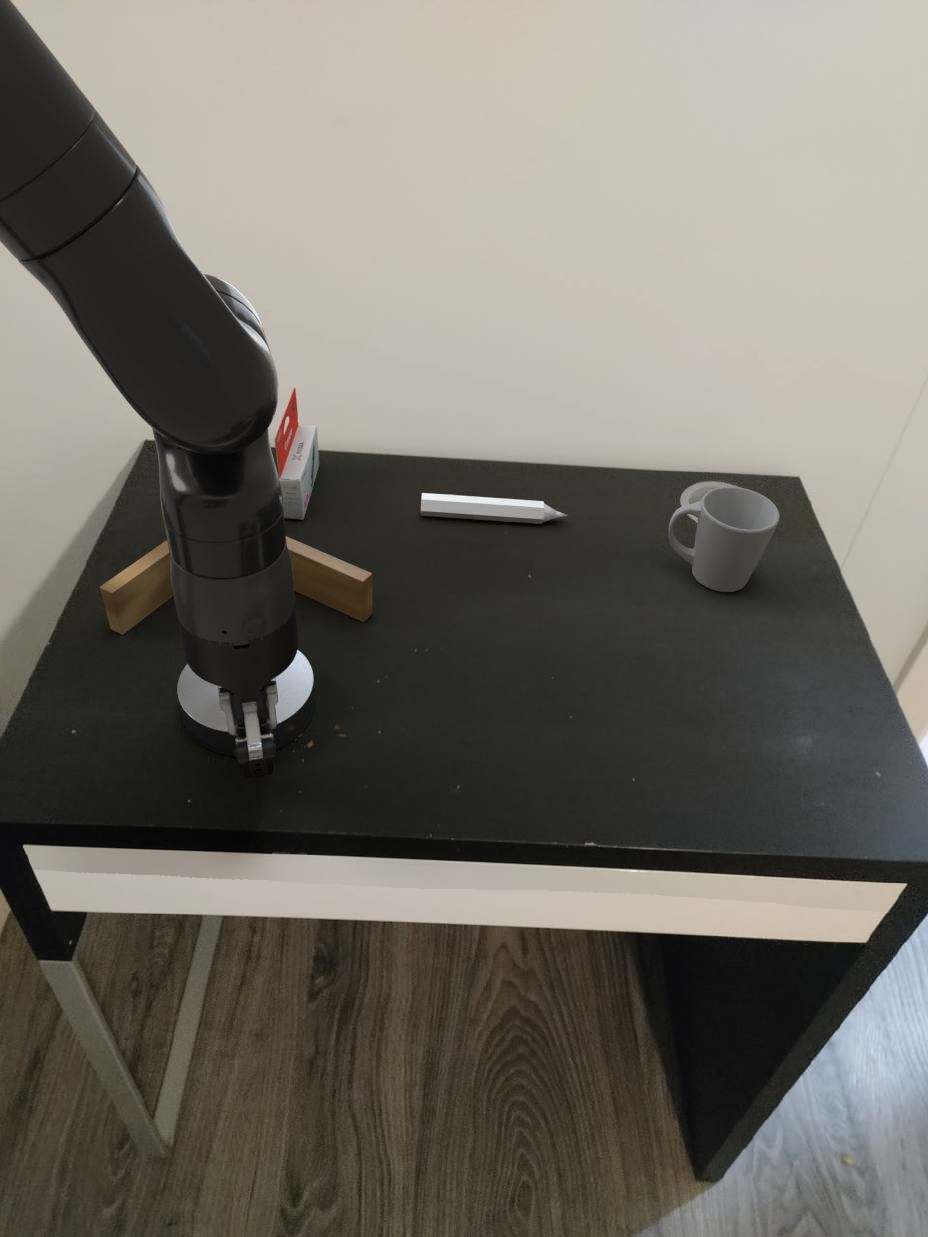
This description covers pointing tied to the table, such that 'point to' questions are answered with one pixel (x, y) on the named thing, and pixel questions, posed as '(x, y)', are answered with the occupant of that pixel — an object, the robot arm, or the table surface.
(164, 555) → the corner fence
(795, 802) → the table surface
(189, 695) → the white-topped round disc
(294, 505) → the ink box
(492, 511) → the white pencil
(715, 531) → the cup
